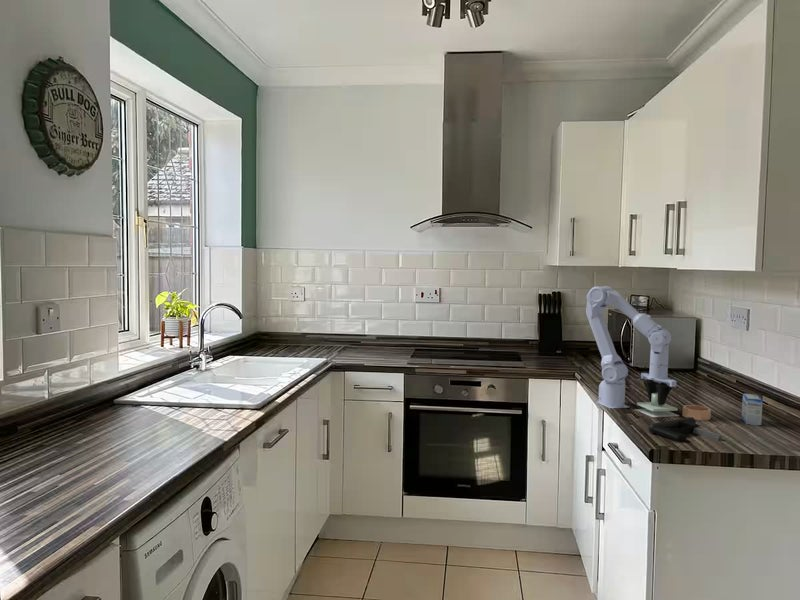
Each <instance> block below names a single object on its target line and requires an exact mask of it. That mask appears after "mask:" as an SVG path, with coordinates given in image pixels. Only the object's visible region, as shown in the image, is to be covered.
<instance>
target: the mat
mask: <svg viewBox="0 0 800 600" xmlns="http://www.w3.org/2000/svg"><path fill="white" fill-rule="evenodd" d="M634 410H635V411H636V412H640V413H642V414H644V415H647V416H649V417H651V418H664V417H665V418H667V417H680V415H679V414H677V413H674V412H672V411H651V410H648V409H646V408H637V409H636V408H635V409H634Z"/></svg>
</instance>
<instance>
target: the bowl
mask: <svg viewBox="0 0 800 600" xmlns="http://www.w3.org/2000/svg"><path fill="white" fill-rule="evenodd" d="M711 415H712V408H709V407H707V406H705V405H704V406H703V405H698V404H685V405H683V407H682V415H681V416H682V417H683V418H686V417H693V418H694V419H695V421H710V419H711V418H712V417H711Z"/></svg>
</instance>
